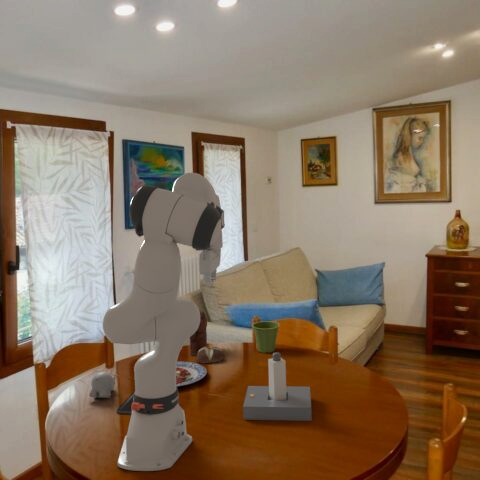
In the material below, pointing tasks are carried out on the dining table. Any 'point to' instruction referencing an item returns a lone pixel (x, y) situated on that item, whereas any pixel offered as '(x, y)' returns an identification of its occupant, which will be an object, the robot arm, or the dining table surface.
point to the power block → (277, 404)
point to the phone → (126, 406)
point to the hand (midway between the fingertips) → (210, 283)
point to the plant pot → (265, 335)
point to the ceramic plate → (188, 373)
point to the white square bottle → (277, 377)
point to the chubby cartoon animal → (102, 385)
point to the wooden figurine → (199, 336)
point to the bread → (209, 355)
